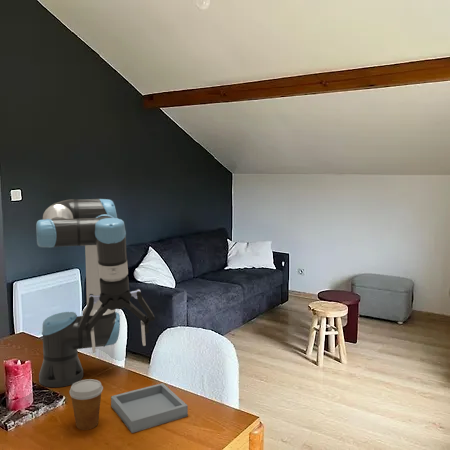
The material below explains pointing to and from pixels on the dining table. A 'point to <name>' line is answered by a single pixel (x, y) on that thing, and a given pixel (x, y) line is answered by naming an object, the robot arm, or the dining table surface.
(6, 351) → the dining table surface
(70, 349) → the robot arm
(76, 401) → the disposable coffee cup
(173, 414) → the tray
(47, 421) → the dining table surface
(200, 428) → the dining table surface
